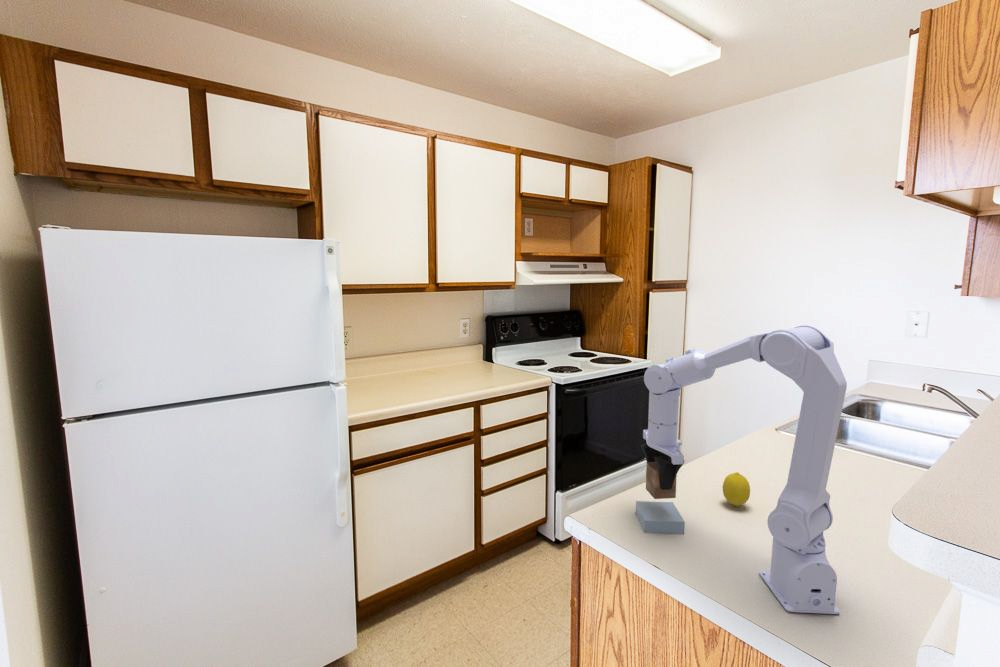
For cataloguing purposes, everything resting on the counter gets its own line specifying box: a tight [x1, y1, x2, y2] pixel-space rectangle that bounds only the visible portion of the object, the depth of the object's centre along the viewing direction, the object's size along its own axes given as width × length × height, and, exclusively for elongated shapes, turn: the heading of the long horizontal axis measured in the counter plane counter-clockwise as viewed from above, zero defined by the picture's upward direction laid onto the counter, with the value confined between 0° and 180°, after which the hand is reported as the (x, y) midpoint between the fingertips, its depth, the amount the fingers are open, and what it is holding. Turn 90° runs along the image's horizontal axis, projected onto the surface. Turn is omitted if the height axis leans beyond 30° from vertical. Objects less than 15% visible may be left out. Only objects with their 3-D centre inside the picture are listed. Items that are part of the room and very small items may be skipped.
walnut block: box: [645, 461, 678, 500], centre depth 97 cm, size 4×4×6 cm
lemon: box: [722, 472, 751, 507], centre depth 104 cm, size 6×6×8 cm
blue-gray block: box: [635, 500, 686, 535], centre depth 98 cm, size 8×8×3 cm
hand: (660, 483), depth 97 cm, fingers closed on walnut block, 4 cm apart
